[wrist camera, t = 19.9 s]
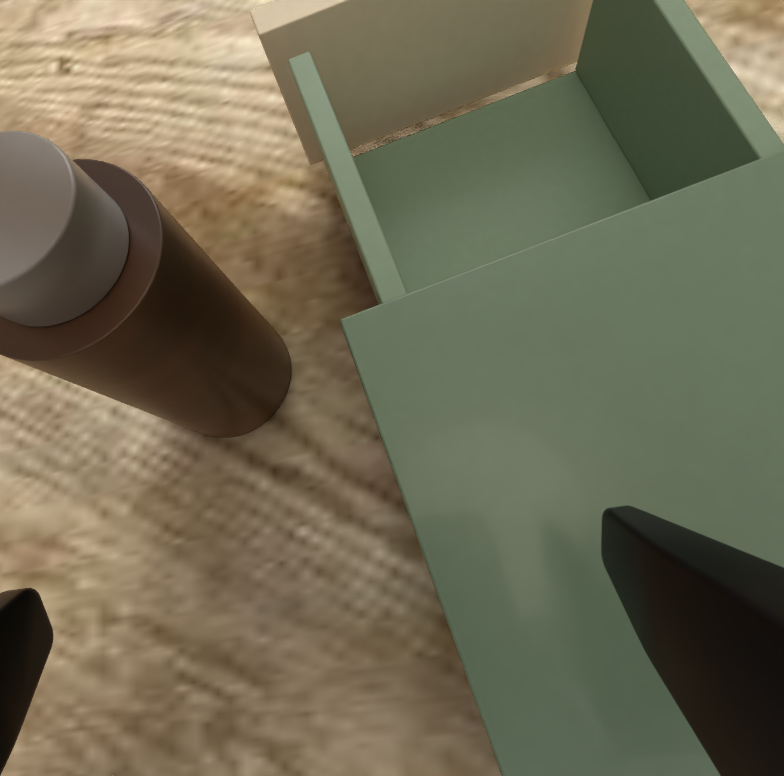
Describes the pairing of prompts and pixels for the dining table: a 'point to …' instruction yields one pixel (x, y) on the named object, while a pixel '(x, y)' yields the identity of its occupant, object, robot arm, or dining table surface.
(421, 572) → the dining table surface
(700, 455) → the cabinet
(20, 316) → the pepper mill
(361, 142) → the drawer
